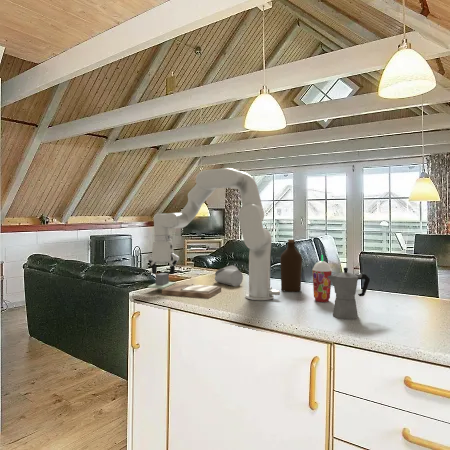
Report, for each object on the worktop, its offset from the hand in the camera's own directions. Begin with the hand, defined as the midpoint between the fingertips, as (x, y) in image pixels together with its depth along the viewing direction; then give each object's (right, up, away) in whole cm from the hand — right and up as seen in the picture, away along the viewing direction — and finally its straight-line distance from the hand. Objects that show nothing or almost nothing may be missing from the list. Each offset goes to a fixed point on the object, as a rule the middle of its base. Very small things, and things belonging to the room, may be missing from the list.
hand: (163, 273), depth 183 cm
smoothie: (+72, -9, -21) cm, 76 cm away
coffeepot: (+76, -10, -45) cm, 89 cm away
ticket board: (+15, -9, -5) cm, 17 cm away
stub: (-1, -6, 0) cm, 6 cm away
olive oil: (+63, -9, +1) cm, 64 cm away
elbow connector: (+33, -8, +22) cm, 40 cm away
